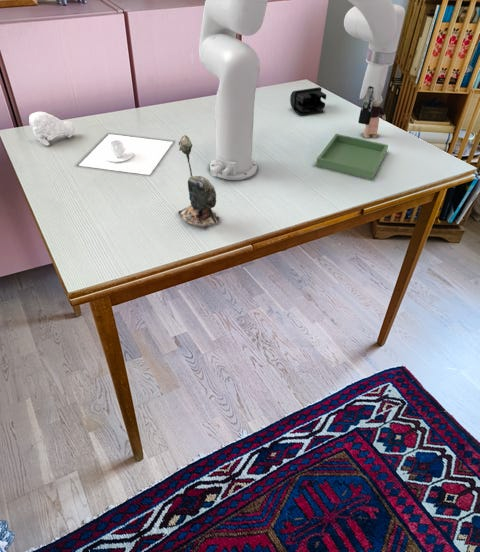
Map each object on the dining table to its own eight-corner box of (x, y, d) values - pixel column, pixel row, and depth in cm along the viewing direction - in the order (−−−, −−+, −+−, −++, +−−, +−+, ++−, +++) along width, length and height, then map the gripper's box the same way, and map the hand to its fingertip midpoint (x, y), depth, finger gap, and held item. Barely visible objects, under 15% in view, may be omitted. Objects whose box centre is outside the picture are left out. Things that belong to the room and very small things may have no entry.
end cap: (314, 104, 160) (316, 84, 155) (325, 112, 155) (328, 91, 151) (288, 108, 157) (290, 88, 152) (299, 116, 152) (301, 95, 147)
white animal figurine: (25, 109, 128) (69, 105, 134) (30, 139, 134) (72, 134, 139) (30, 117, 124) (75, 113, 130) (36, 147, 130) (79, 142, 135)
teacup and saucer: (112, 147, 132) (109, 133, 129) (138, 150, 131) (136, 136, 128) (98, 161, 125) (96, 147, 123) (126, 165, 124) (124, 150, 121)
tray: (372, 179, 122) (374, 171, 120) (315, 166, 127) (317, 158, 125) (386, 152, 134) (388, 145, 132) (334, 141, 139) (335, 133, 137)
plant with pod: (194, 238, 101) (190, 153, 87) (175, 211, 108) (169, 130, 95) (227, 228, 104) (228, 145, 90) (207, 203, 111) (205, 123, 98)
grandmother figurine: (377, 132, 144) (386, 91, 136) (382, 137, 142) (392, 95, 133) (354, 134, 143) (362, 92, 134) (359, 139, 140) (368, 97, 132)
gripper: (374, 46, 134) (362, 106, 146) (359, 62, 122) (347, 126, 134) (400, 50, 132) (385, 110, 143) (387, 67, 120) (372, 131, 131)
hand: (367, 118), depth 139 cm, fingers open, 8 cm apart
